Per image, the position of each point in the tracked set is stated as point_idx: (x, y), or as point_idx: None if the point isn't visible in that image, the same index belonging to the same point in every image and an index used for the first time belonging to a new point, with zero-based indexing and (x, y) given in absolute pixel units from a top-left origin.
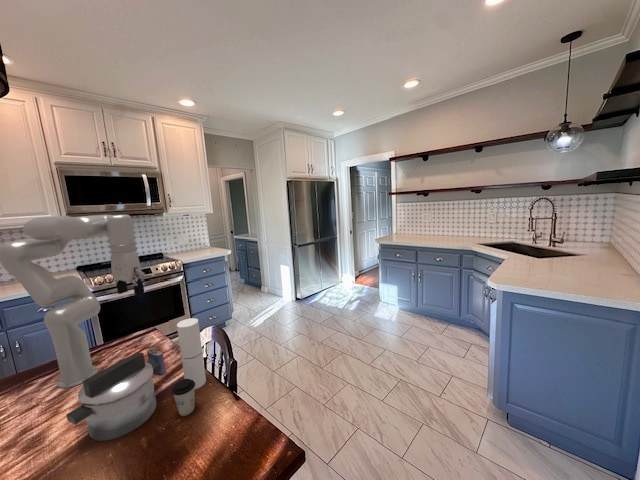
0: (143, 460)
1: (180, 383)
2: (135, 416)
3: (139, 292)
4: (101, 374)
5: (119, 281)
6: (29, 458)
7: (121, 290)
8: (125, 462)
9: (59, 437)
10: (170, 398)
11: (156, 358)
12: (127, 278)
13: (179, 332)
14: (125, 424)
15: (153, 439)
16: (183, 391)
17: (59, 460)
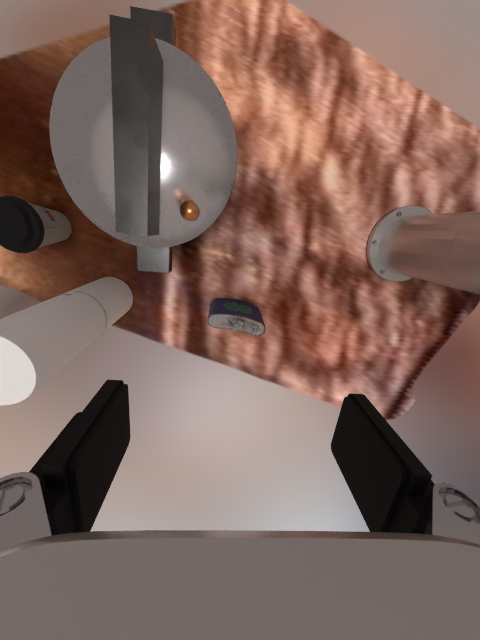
0: (13, 92)
1: (13, 223)
2: None
3: (73, 420)
4: (123, 79)
5: (423, 524)
6: (251, 27)
7: (351, 427)
8: (43, 77)
9: (249, 90)
10: (123, 245)
11: (218, 311)
12: None
13: (7, 323)
14: None
15: (47, 142)
16: None
17: (182, 42)
